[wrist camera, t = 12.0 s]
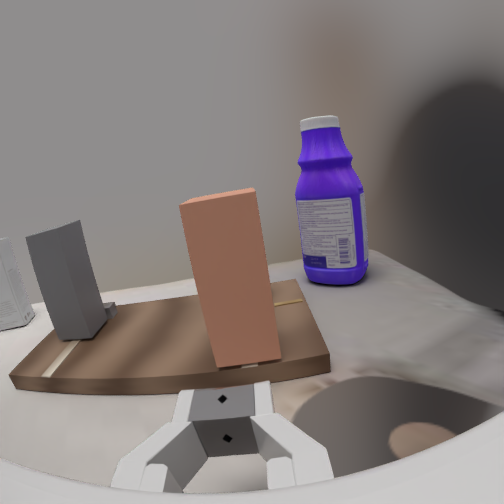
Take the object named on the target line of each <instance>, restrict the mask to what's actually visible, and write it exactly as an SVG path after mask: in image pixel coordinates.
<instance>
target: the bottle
mask: <svg viewBox="0 0 504 504" xmlns="http://www.w3.org/2000/svg"><path fill="white" fill-rule="evenodd" d="M300 127H301V135H302V151H301V154H300V158H299V160H298V164H299V166H300V167H301V169H302V172H301V175H300V177H299V180H298V183H297V187H296V193H295V196H296V204H297V211H298V219H299V227H300V235H301V243H302V244H301V245H302V254H303V262H304V269H305V272H306V274H307V276H308V278H309V279H310V280H311V281H314V282H317V283H324V284H337V285H340V284H353V283H356V282H357V281H359V280H360V279H361V278H362V277H363V276H364V274H365V272H366V269H367V266H368V238H367V225H366V211H365V199H364V192H363V186H362V184H361V182H360V180H359V178H358V176H357V174H356V173H355V171H354V170H353V169H352V166H351V161H352V155H351V154H350V152H349V151H348V149H347V148H346V146H345V144H344V141H343V139H342V136H341V131H340V125H339V121H338V117H337V116H320V117H313V118H307V119H304V120H301V121H300Z"/></svg>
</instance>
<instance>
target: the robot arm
mask: <svg viewBox="0 0 504 504" xmlns="http://www.w3.org/2000/svg"><path fill="white" fill-rule="evenodd" d="M257 453H259V454H260V455H261V456H262V457H263V459H264V460H265V461H266V462H267V481H268V490H258V491H247V492H232V493H184V492H183V491H182V490H183V489H184V488H185V487H186V485H187V484H188V483H189V482H190V481H191V479H192V478H193V477H194V476H195V474H196V473H197V472H198V471H199V469H200V468H201V467H202V466H203V464H204V463H205V462H206V461H207V459H208V457H220V456H231V455H245V454H257ZM0 504H504V411H503V412H501V413H500V414H498V415H496V416H494V417H493V418H491V419H489V420H487V421H486V422H484V423H482V424H480V425H478V426H476V427H474V428H472V429H470V430H468V431H466V432H464V433H462V434H460V435H458V436H456V437H454V438H452V439H450V440H447V441H445V442H443V443H441V444H438V445H436V446H434V447H431V448H429V449H426V450H424V451H421V452H419V453H416V454H413V455H411V456H408V457H405V458H402V459H400V460H397V461H394V462H391V463H388V464H385V465H382V466H378V467H375V468H372V469H368V470H365V471H361V472H357V473H354V474H350V475H346V476H342V477H337V478H334V476H333V472H332V468H331V465H330V461H329V458H328V453H327V450H326V448H325V447H323V446H322V445H321V444H319V443H318V442H316V441H315V440H314V439H312V438H311V437H310V436H308V435H307V434H305V433H304V432H303V431H301V430H300V429H299V428H297V427H296V426H295V425H293V424H292V423H291V422H290V421H288V420H287V419H286V418H284V417H283V416H282V415H280V414H279V413H275V408H274V402H273V396H272V390H271V384H270V381H264V382H258V383H254V384H247V385H239V386H231V387H220V388H206V389H195V390H194V389H193V390H181V391H180V392H179V394H178V398H177V402H176V405H175V409H174V413H173V417H172V421H171V422H167V423H166V424H164V425H163V426H162V427H161V428H160V429H158V430H157V431H156V432H155V433H153V434H152V435H151V436H150V437H148V438H147V439H146V440H145V441H143V442H142V443H141V444H140V445H138V446H137V447H136V448H134V449H133V450H132V451H131V452H129V453H128V454H127V455H125V456H124V457H123V458H122V459H120V460H119V462H118V465H117V468H116V471H115V473H114V476H113V479H112V482H111V484H110V487H109V486H103V485H97V484H91V483H86V482H81V481H77V480H72V479H68V478H63V477H59V476H56V475H52V474H48V473H44V472H41V471H38V470H34V469H31V468H28V467H25V466H22V465H19V464H16V463H13V462H10V461H7V460H5V459H2V458H0Z"/></svg>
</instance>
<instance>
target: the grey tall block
mask: <svg viewBox="0 0 504 504" xmlns="http://www.w3.org/2000/svg"><path fill="white" fill-rule="evenodd" d="M26 241H27V245H28V249H29V253H30V256H31V260H32V264H33V267H34V271H35V274H36V277H37V281H38V283H39V287H40V290H41V293H42V296H43V299H44V302H45V305H46V307H47V310H48V313H49V316H50V318H51V321H52V323H53V326H54V328H55V331H56V333H57V336H58V338H59V340H68V339H85V338H92V337H93V336H94V335H95V334H96V332H97V331H98V330H99V329H100V328H101V326H102V325H103V324H104V323H105V322H106V320H107V319H108V318H107V315H106V312H105V309H104V306H103V303H102V300H101V296H100V293H99V290H98V287H97V284H96V280H95V277H94V273H93V270H92V267H91V263H90V259H89V255H88V252H87V248H86V244H85V240H84V236H83V232H82V227H81V223H80V220H78V221H74V222H70V223H67V224H63V225H59V226H56V227H52V228H49V229H46V230H43V231H40V232H38V233H35V234H33V235H30V236H27V237H26Z"/></svg>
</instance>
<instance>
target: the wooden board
mask: <svg viewBox="0 0 504 504" xmlns="http://www.w3.org/2000/svg"><path fill="white" fill-rule="evenodd" d="M270 286H271V292H272V299H273V305H274V312H275V318H276V325H277V331H278V338H279V345H280V352H281V359H275V360H269V361H262V362H256V363H249V364H242V365H234V366H226V367H218V368H217V366H216V362H215V358H214V355H213V351H212V347H211V343H210V340H209V336H208V332H207V328H206V324H205V320H204V316H203V312H202V308H201V304H200V300H199V296H198V295H192V296H185V297H178V298H171V299H164V300H156V301H149V302H141V303H134V304H126V305H118V306H116V305H115V302H110V303H103V306H104V309H105V312H106V315H107V318H108V319H107V320H106V322H105V323H104V324H103V325H102V326H101V328H100V329H99V330H98V331H97V332H96V334H95V335H94V336H93V337H92V338H85V339H68V340H59V338H58V336H57V333H56V331H55V329H54V330H53V331H52V332H51V333H49V334H48V335H47V336H46V337H45V338H44V339H43V340H42V341H41V342H40V343H39V344H38V345H37V346H36V347H35V348H34V349H33V350H32V351H31V352H30V353H29V354H28V355H27V356H26V357H25V358H24V359H23V360H22V361H21V362H20V363H19V364H18V365H17V366H16V367H15V368H14V369H13V370H12V372H11V373H10V374H9V377H10V379H11V380H12V382H13V384H14V386H15V388H16V389H23V390H32V391H42V392H55V393H70V394H94V395H143V394H168V393H179V392H180V391H181V390H193V389H194V390H195V389H206V388H220V387H231V386H239V385H247V384H254V383H258V382H264V381H270V383H273V382H279V381H285V380H291V379H296V378H302V377H307V376H312V375H317V374H322V373H327V372H330V353H329V351H328V349H327V346H326V344H325V342H324V340H323V337H322V335H321V333H320V331H319V329H318V326H317V324H316V322H315V320H314V318H313V315H312V313H311V311H310V309H309V307H308V304H307V302H306V300H305V298H304V296H303V294H302V291H301V289H300V287H299V285H298V283H297V281H296V279H292V280H286V281H280V282H274V283H270Z"/></svg>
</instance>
